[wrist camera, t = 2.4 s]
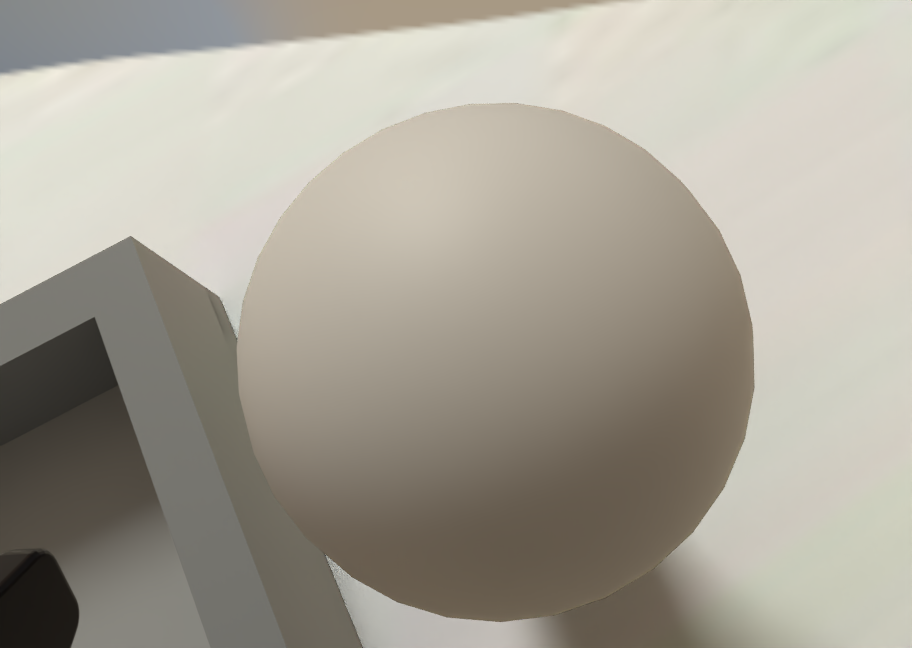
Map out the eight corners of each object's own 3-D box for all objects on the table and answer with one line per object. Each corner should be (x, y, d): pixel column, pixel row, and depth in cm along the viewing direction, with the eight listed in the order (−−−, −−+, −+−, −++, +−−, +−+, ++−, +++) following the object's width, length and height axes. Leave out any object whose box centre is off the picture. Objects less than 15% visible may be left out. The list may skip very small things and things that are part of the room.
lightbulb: (696, 323, 18) (837, -3, 7) (666, 617, 16) (791, 723, 6) (423, 291, 19) (215, -28, 9) (373, 562, 18) (51, 573, 7)
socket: (396, 730, 17) (337, 782, 13) (-57, 959, 17) (-246, 1076, 13) (219, 296, 20) (130, 235, 16) (-159, 493, 20) (-335, 479, 16)
